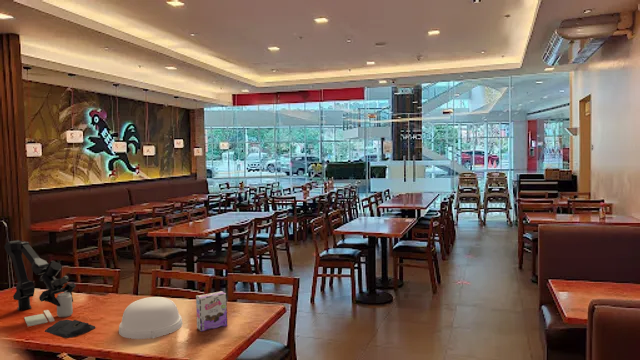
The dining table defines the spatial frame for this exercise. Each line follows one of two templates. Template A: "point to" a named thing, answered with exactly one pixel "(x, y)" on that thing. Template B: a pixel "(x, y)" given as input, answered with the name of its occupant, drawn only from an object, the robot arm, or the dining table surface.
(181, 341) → the dining table surface
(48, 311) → the strip
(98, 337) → the dining table surface
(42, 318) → the pad
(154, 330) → the dome cover
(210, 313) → the candy box
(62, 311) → the can
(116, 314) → the dining table surface
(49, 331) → the dark slate chunk
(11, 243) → the robot arm
